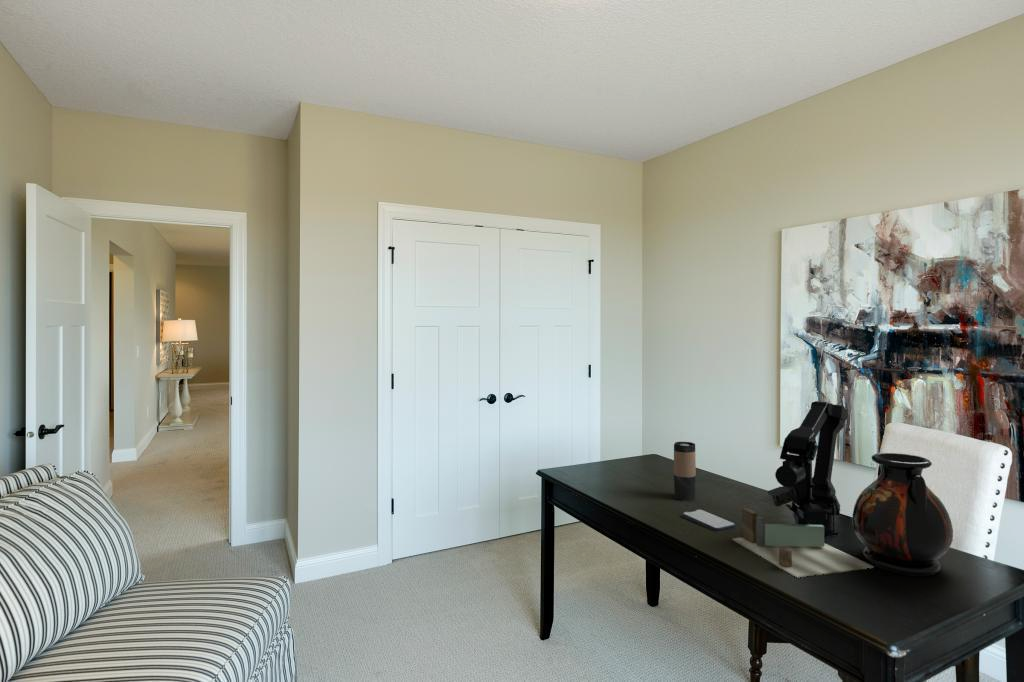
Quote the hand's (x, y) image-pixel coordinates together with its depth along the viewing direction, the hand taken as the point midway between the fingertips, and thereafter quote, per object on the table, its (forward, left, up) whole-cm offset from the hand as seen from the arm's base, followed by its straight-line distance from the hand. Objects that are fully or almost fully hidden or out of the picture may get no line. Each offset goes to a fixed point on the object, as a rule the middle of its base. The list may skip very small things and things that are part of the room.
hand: (800, 532), depth 160 cm
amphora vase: (-15, +18, -4) cm, 24 cm away
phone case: (+14, -24, -4) cm, 28 cm away
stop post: (+14, +11, -4) cm, 18 cm away
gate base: (+5, +5, -4) cm, 7 cm away
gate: (+5, +1, -3) cm, 5 cm away
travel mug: (+8, -48, -4) cm, 49 cm away
